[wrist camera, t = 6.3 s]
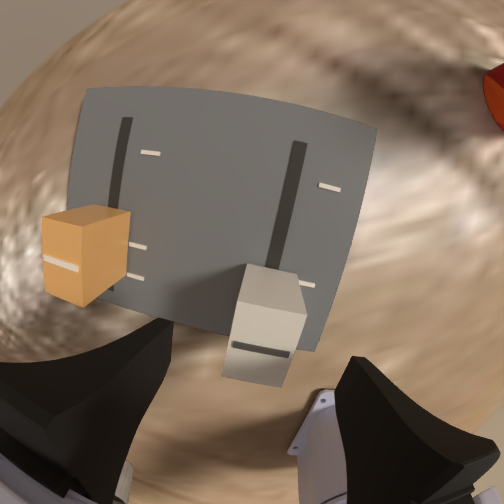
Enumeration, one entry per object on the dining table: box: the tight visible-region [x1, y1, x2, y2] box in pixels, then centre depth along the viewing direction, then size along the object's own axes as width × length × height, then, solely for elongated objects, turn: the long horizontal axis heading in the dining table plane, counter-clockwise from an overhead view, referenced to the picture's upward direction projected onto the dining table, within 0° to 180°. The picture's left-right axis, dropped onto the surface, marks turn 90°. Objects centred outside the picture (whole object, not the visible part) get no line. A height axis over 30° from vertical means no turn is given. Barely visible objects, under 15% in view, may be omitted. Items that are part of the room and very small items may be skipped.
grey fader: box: [222, 263, 307, 387], centre depth 13 cm, size 4×3×5 cm
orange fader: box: [42, 204, 131, 308], centre depth 13 cm, size 4×3×5 cm
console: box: [67, 86, 377, 352], centre depth 15 cm, size 14×18×1 cm
